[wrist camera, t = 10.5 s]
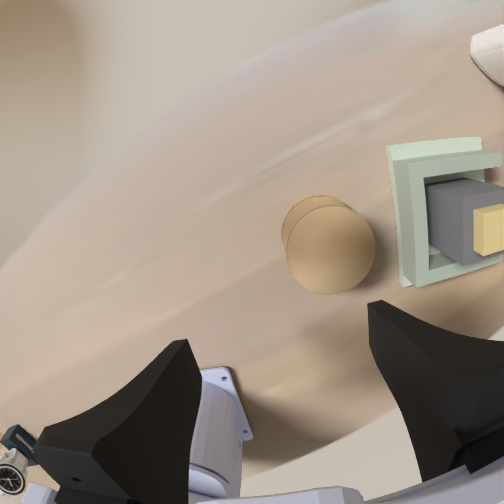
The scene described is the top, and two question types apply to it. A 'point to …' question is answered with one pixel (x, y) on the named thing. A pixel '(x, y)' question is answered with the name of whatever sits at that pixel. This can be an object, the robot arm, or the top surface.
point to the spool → (327, 245)
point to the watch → (15, 461)
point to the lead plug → (465, 219)
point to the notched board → (414, 202)
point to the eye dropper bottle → (490, 53)
